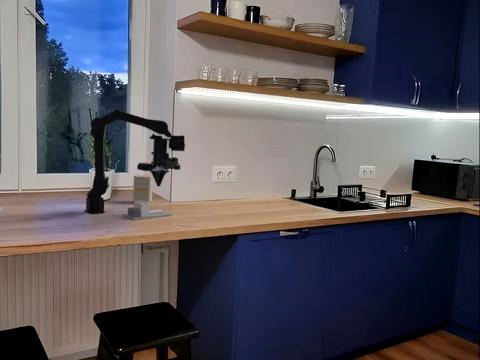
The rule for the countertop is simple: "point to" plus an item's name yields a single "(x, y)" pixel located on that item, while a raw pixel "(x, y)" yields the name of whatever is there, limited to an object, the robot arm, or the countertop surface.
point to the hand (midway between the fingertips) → (158, 186)
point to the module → (142, 207)
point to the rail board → (135, 215)
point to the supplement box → (142, 188)
